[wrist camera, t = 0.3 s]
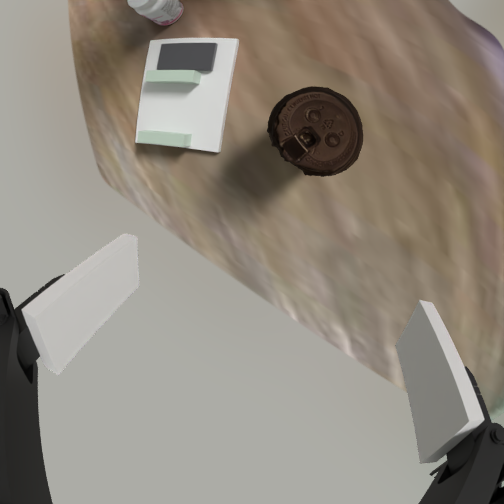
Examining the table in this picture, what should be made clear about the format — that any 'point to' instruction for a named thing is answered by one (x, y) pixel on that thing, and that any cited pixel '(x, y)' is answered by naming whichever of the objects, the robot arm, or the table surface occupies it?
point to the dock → (186, 92)
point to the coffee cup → (316, 131)
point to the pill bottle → (158, 10)
